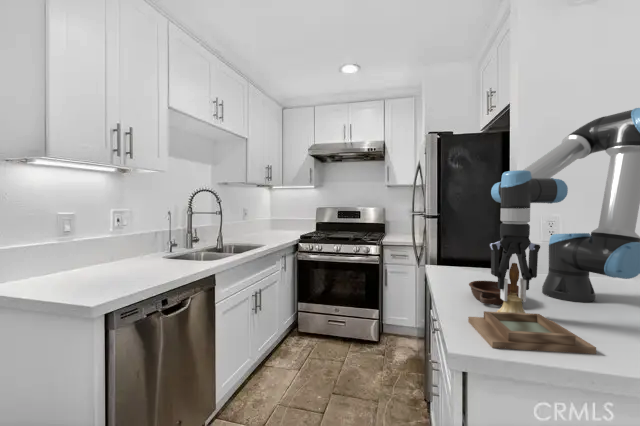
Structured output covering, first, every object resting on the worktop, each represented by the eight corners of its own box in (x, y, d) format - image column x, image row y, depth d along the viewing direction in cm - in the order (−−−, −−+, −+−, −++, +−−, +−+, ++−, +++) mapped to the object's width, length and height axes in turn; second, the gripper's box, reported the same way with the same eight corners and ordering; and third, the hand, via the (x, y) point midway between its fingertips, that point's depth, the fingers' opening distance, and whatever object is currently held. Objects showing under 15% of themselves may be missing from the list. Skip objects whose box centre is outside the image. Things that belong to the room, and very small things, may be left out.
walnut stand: (551, 325, 85) (552, 313, 85) (596, 354, 70) (596, 338, 69) (468, 321, 88) (468, 309, 88) (492, 347, 72) (492, 333, 72)
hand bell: (528, 314, 95) (529, 262, 94) (529, 322, 88) (530, 267, 87) (497, 309, 99) (498, 259, 98) (495, 317, 92) (496, 263, 91)
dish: (530, 298, 111) (530, 284, 111) (519, 314, 95) (519, 298, 95) (478, 289, 123) (478, 276, 123) (459, 302, 106) (460, 287, 106)
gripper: (539, 222, 95) (537, 297, 96) (478, 221, 97) (477, 295, 98) (554, 224, 88) (552, 305, 88) (488, 223, 90) (487, 302, 90)
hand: (512, 299), depth 93 cm, fingers closed on hand bell, 4 cm apart
